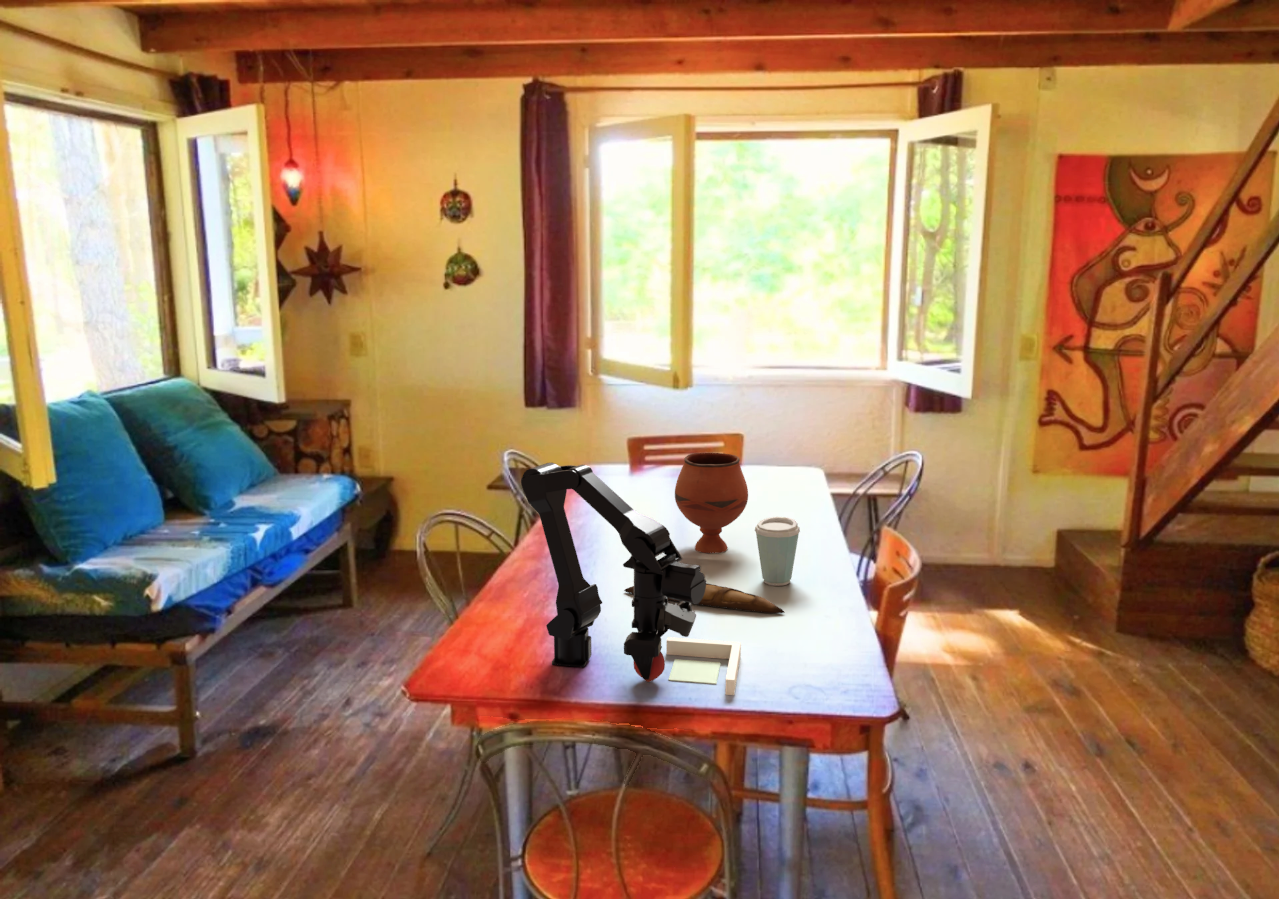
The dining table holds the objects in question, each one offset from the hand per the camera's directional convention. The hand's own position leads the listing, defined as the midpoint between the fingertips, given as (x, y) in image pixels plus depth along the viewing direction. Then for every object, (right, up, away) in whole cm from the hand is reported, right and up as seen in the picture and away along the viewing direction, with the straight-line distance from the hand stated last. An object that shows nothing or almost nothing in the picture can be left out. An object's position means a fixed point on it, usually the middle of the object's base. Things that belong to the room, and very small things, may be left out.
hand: (649, 671), depth 177 cm
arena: (+9, -1, +4) cm, 10 cm away
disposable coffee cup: (+31, +9, +52) cm, 61 cm away
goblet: (+17, +15, +76) cm, 80 cm away
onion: (0, -2, 0) cm, 2 cm away
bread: (+12, +6, +39) cm, 41 cm away
